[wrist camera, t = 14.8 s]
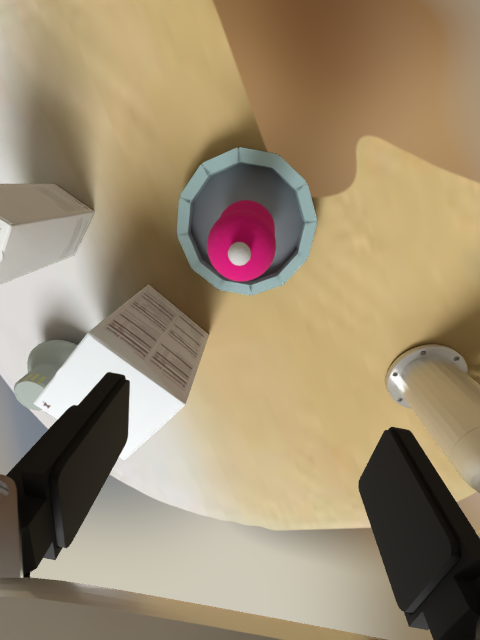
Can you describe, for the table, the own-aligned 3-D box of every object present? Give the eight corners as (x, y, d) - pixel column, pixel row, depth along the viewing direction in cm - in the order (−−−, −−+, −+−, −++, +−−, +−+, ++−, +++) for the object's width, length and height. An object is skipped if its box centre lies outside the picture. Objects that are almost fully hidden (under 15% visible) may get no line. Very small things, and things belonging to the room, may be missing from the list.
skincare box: (55, 182, 39) (-58, 175, 25) (98, 213, 41) (14, 222, 27) (35, 232, 42) (-77, 252, 28) (75, 259, 44) (-12, 291, 29)
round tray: (326, 166, 37) (332, 164, 34) (293, 296, 44) (296, 303, 41) (189, 141, 37) (183, 136, 34) (178, 276, 44) (173, 282, 41)
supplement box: (164, 381, 52) (123, 463, 36) (103, 336, 49) (29, 404, 33) (211, 334, 48) (188, 405, 32) (147, 282, 45) (86, 330, 29)
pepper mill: (282, 237, 40) (305, 273, 21) (238, 263, 41) (223, 317, 23) (256, 188, 37) (256, 181, 19) (210, 218, 39) (170, 238, 21)
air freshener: (98, 387, 53) (66, 426, 44) (55, 383, 54) (14, 421, 44) (90, 335, 49) (52, 367, 40) (43, 331, 49) (-6, 362, 40)
